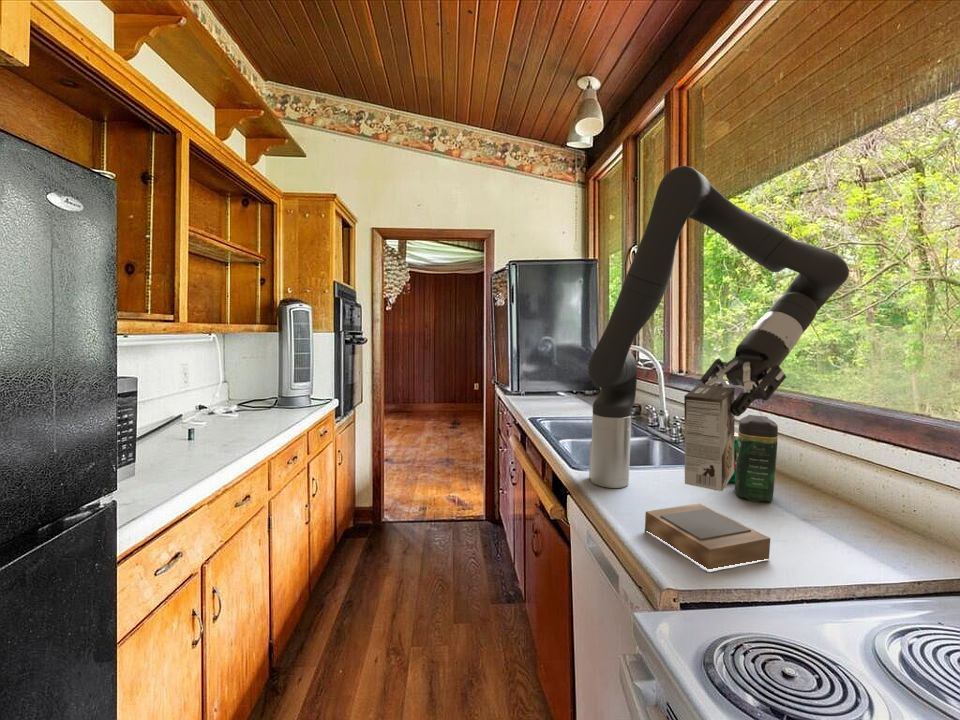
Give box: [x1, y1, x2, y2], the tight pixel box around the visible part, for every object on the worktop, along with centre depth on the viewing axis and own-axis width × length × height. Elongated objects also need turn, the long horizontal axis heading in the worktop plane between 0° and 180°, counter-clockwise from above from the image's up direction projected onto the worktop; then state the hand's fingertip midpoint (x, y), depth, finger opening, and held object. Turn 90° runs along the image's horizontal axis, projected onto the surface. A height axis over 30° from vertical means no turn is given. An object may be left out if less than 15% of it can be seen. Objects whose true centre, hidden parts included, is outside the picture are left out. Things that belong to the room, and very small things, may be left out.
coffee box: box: [683, 384, 736, 492], centre depth 86 cm, size 9×6×16 cm
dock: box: [644, 503, 771, 569], centre depth 88 cm, size 16×13×4 cm
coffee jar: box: [734, 414, 779, 503], centre depth 113 cm, size 10×8×19 cm
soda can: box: [727, 432, 738, 484], centre depth 123 cm, size 5×5×12 cm
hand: (716, 408), depth 87 cm, fingers closed on coffee box, 7 cm apart
